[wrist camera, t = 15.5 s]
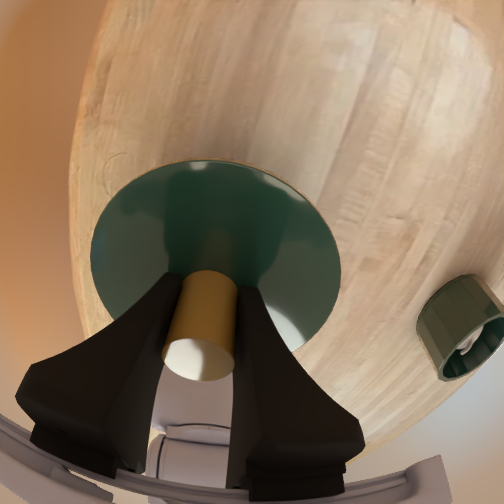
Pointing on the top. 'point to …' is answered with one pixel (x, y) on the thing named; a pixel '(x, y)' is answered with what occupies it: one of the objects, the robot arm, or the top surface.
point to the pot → (460, 326)
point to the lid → (216, 256)
